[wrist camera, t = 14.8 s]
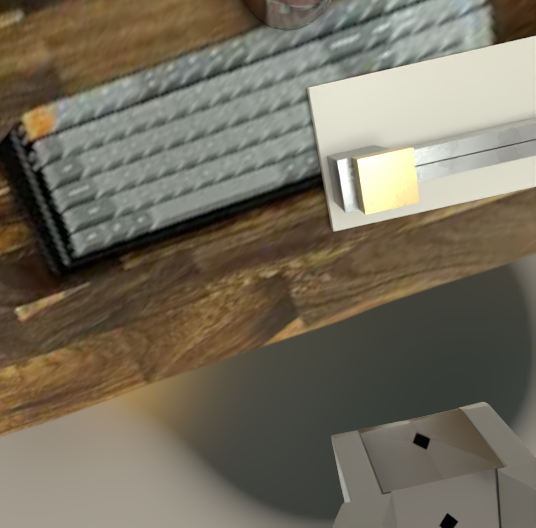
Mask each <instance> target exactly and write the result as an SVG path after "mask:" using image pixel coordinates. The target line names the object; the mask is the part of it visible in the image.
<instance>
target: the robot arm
mask: <svg viewBox="0 0 536 528" xmlns="http://www.w3.org/2000/svg"><path fill="white" fill-rule="evenodd" d="M332 443H333V448H334V453H335V458H336V463H337V468H338V473H339V478H340V483H341V487H342V492H343V496H344V500H345V503H343V504H342V506H341V508H340V511H339V513H338V515H337V518H336V520H335V523H334V525H333V527H332V528H536V458H535V457H534V455H533V454H532V453H531V452H530V451H529V450H528V448H527V447H526V446H525V445H524V444H523V443H522V442H521V440H520V439H519V438H518V437H517V436H516V435H515V434H514V433H513V432H512V430H511V429H510V428H509V427H508V426H507V425H506V424H505V422H504V421H503V420H502V419H501V418H500V417H499V416H498V414H497V413H496V412H495V411H494V410H493V409H492V408H491V406H490V405H489V404H487V403H485V402H481V403H477V404H472V405H468V406H464V407H460V408H458V409H455V410H451V411H446V412H442V413H438V414H433V415H429V416H424V417H420V418H416V419H411V420H406V421H401V422H396V423H391V424H386V425H381V426H375V427H371V428H365V429H360V430H358V432H357V431H352V432H348V433H342V434H337V435H333V436H332Z"/></svg>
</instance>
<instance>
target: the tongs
mask: <svg viewBox="0 0 536 528" xmlns="http://www.w3.org/2000/svg"><path fill="white" fill-rule="evenodd" d="M387 149H390V148H385V147H381V146H376V145H372V146H367V147H363V148H358V149H354V150H349V151H345V152H341V153H336V154H332V155H327V160H328V166H329V172H330V178H331V184H332V190H333V195H334V201H335V203H336V204H337V205H338V206H339V207H340V208H341V209H342V210H343V211H344V212H346V213H347V212H351V211H356V210H359V203H358V197H357V190H356V184H355V178H354V171H353V165H352V157H356V156H361V155H365V154H370V153H374V152H378V151H383V150H387ZM532 156H536V139H533V140H528V141H524V142H519V143H515V144H510V145H506V146H501V147H497V148H493V149H488V150H484V151H479V152H475V153H470V154H466V155H461V156H457V157H452V158H448V159H444V160H439V161H435V162H430V163H426V164H421V165H417V166H415V167H416V175H417V182H420V181H425V180H429V179H434V178H438V177H442V176H447V175H451V174H456V173H460V172H465V171H469V170H474V169H478V168H483V167H487V166H491V165H496V164H500V163H505V162H509V161H514V160H518V159H523V158H527V157H532Z"/></svg>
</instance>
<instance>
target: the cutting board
mask: <svg viewBox="0 0 536 528" xmlns="http://www.w3.org/2000/svg"><path fill="white" fill-rule="evenodd" d="M307 94H308V100H309V105H310V111H311V117H312V122H313V128H314V133H315V139H316V145H317V150H318V156H319V162H320V167H321V173H322V178H323V184H324V190H325V195H326V201H327V207H328V212H329V218H330V224H331V228H332V230H333V231H338V230H343V229H347V228H352V227H356V226H361V225H365V224H370V223H374V222H379V221H383V220H388V219H392V218H396V217H401V216H405V215H410V214H414V213H419V212H423V211H428V210H432V209H437V208H441V207H446V206H450V205H455V204H459V203H464V202H468V201H472V200H477V199H481V198H486V197H490V196H495V195H499V194H504V193H508V192H513V191H517V190H522V189H526V188H531V187H535V186H536V156H532V157H527V158H523V159H518V160H514V161H509V162H505V163H500V164H496V165H491V166H487V167H483V168H478V169H474V170H469V171H465V172H460V173H456V174H451V175H447V176H442V177H438V178H434V179H429V180H425V181H420V182H417V184H418V193H419V202H420V203H416V204H412V205H407V206H403V207H398V208H394V209H389V210H385V211H380V212H376V213H371V214H367V215H365V214H364V213H363V212H361V211H360V210H356V211H351V212H347V213H346V212H344V211H343V210H342V209H341V208H340V207H339V206H338V205H337V204H336V203H335V201H334V195H333V190H332V184H331V178H330V172H329V166H328V160H327V155H332V154H336V153H341V152H345V151H349V150H354V149H358V148H363V147H367V146H372V145H376V146H381V147H385V148H390V149H392V148H396V147H401V146H410V145H414V144H419V143H423V142H428V141H432V140H437V139H441V138H445V137H450V136H454V135H459V134H463V133H468V132H472V131H477V130H481V129H486V128H490V127H494V126H499V125H503V124H508V123H512V122H517V121H521V120H526V119H530V118H534V117H536V36H533V37H528V38H524V39H520V40H515V41H511V42H507V43H502V44H498V45H493V46H489V47H485V48H480V49H476V50H471V51H467V52H463V53H458V54H454V55H449V56H445V57H441V58H436V59H432V60H427V61H423V62H419V63H414V64H410V65H405V66H401V67H397V68H392V69H388V70H384V71H379V72H375V73H370V74H366V75H362V76H357V77H353V78H348V79H344V80H340V81H335V82H331V83H326V84H322V85H318V86H313V87H309V88H307Z"/></svg>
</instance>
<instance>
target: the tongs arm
mask: <svg viewBox="0 0 536 528" xmlns="http://www.w3.org/2000/svg"><path fill="white" fill-rule="evenodd" d="M533 139H536V117H534V118H530V119H526V120H521V121H517V122H512V123H508V124H503V125H499V126H494V127H490V128H486V129H481V130H477V131H472V132H468V133H463V134H459V135H454V136H450V137H445V138H441V139H437V140H432V141H428V142H423V143H419V144H414V145H410V147H413V149H414V158H415V166H417V165H421V164H426V163H430V162H435V161H439V160H444V159H448V158H452V157H457V156H461V155H466V154H470V153H475V152H479V151H484V150H488V149H493V148H497V147H501V146H506V145H510V144H515V143H519V142H524V141H528V140H533Z"/></svg>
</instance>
